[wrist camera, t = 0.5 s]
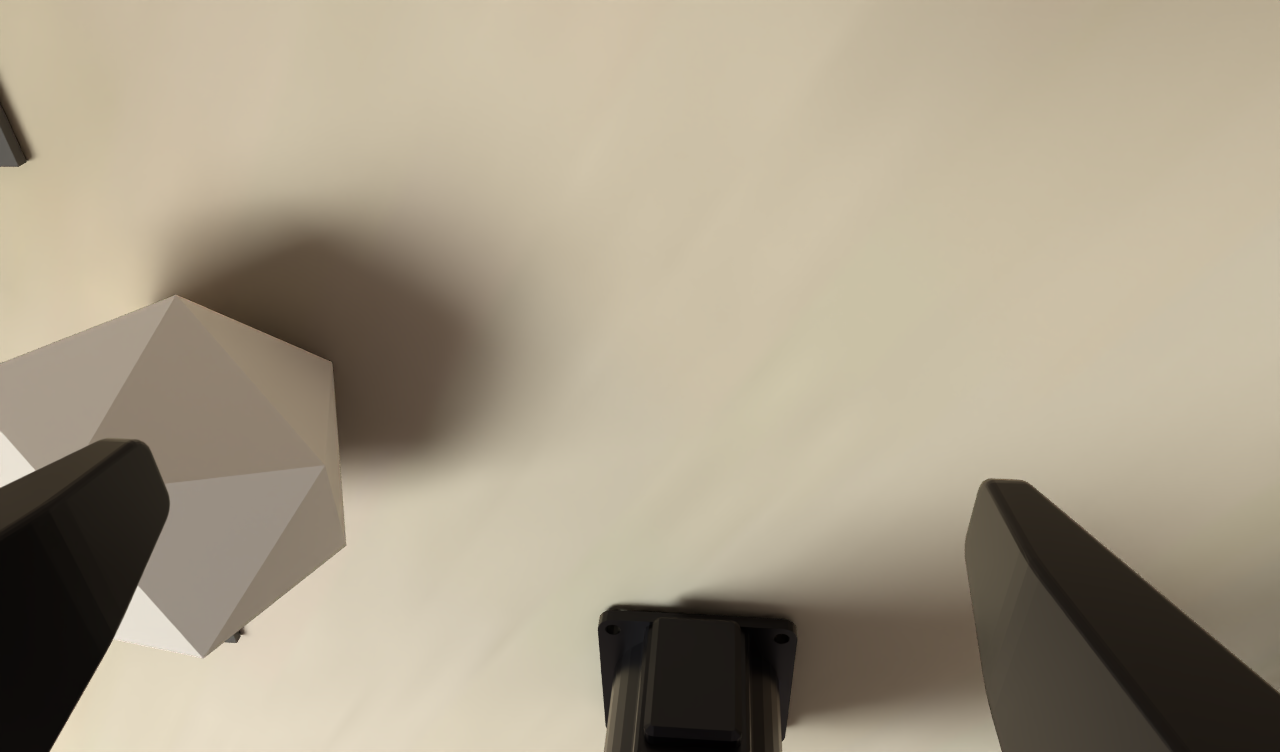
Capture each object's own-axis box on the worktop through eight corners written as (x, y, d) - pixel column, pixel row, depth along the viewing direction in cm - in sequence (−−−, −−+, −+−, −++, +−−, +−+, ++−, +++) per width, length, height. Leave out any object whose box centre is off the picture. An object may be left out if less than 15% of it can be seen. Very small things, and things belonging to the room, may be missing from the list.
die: (105, 434, 27) (145, 742, 23) (-146, 293, 20) (-154, 719, 15) (353, 334, 28) (435, 619, 24) (204, 161, 20) (286, 536, 16)
